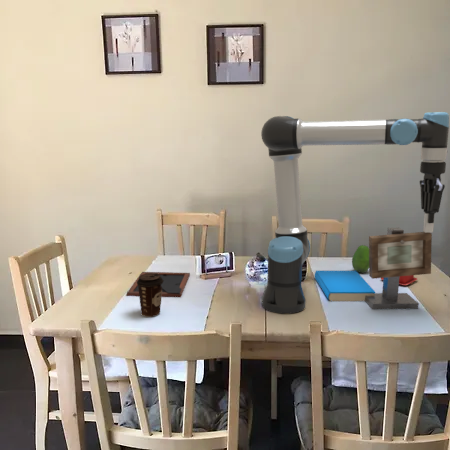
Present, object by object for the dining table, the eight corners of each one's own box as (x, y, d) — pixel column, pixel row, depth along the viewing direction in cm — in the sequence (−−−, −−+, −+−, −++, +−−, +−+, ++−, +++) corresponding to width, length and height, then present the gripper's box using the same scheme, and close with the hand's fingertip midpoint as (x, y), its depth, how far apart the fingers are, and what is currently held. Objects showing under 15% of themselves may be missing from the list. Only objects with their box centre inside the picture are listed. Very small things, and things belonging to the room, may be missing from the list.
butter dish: (378, 281, 192) (380, 261, 190) (392, 275, 200) (393, 255, 198) (405, 288, 184) (407, 267, 182) (418, 281, 192) (421, 261, 190)
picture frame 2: (372, 279, 159) (372, 238, 156) (369, 275, 163) (368, 236, 160) (431, 274, 160) (432, 233, 157) (426, 270, 163) (427, 231, 160)
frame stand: (372, 309, 163) (378, 232, 157) (362, 298, 173) (368, 226, 167) (418, 308, 164) (425, 232, 158) (406, 298, 173) (413, 226, 167)
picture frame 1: (180, 298, 173) (189, 276, 197) (180, 293, 172) (189, 272, 197) (126, 297, 174) (142, 275, 198) (126, 292, 174) (142, 271, 198)
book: (355, 270, 194) (376, 291, 170) (355, 280, 195) (375, 302, 170) (314, 270, 194) (328, 291, 169) (313, 280, 195) (328, 302, 170)
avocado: (372, 275, 199) (374, 247, 197) (353, 274, 199) (355, 247, 197) (367, 269, 207) (369, 242, 205) (349, 269, 207) (350, 242, 205)
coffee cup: (165, 308, 162) (164, 272, 160) (163, 318, 154) (162, 280, 152) (139, 308, 162) (138, 272, 159) (136, 318, 154) (134, 280, 151)
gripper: (455, 162, 147) (448, 236, 152) (435, 159, 160) (430, 227, 165) (431, 163, 147) (425, 236, 152) (413, 159, 160) (408, 228, 165)
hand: (428, 231), depth 159 cm, fingers closed
